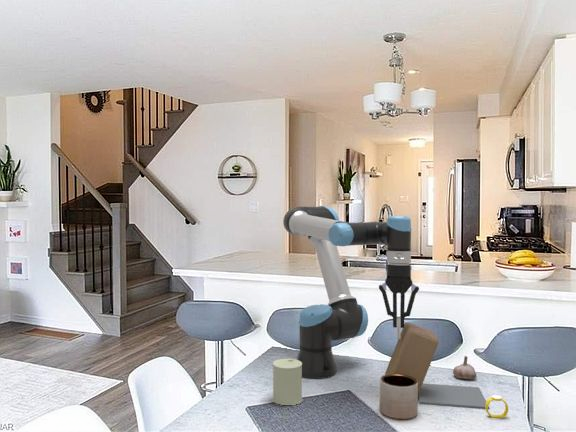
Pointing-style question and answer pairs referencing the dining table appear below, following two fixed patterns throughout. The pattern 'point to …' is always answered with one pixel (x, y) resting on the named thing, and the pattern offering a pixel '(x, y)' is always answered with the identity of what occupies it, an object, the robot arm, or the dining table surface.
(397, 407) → the planter
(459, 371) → the garlic bulb
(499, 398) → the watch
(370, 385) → the dining table surface
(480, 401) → the mat
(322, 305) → the robot arm
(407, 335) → the wooden block
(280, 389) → the can
